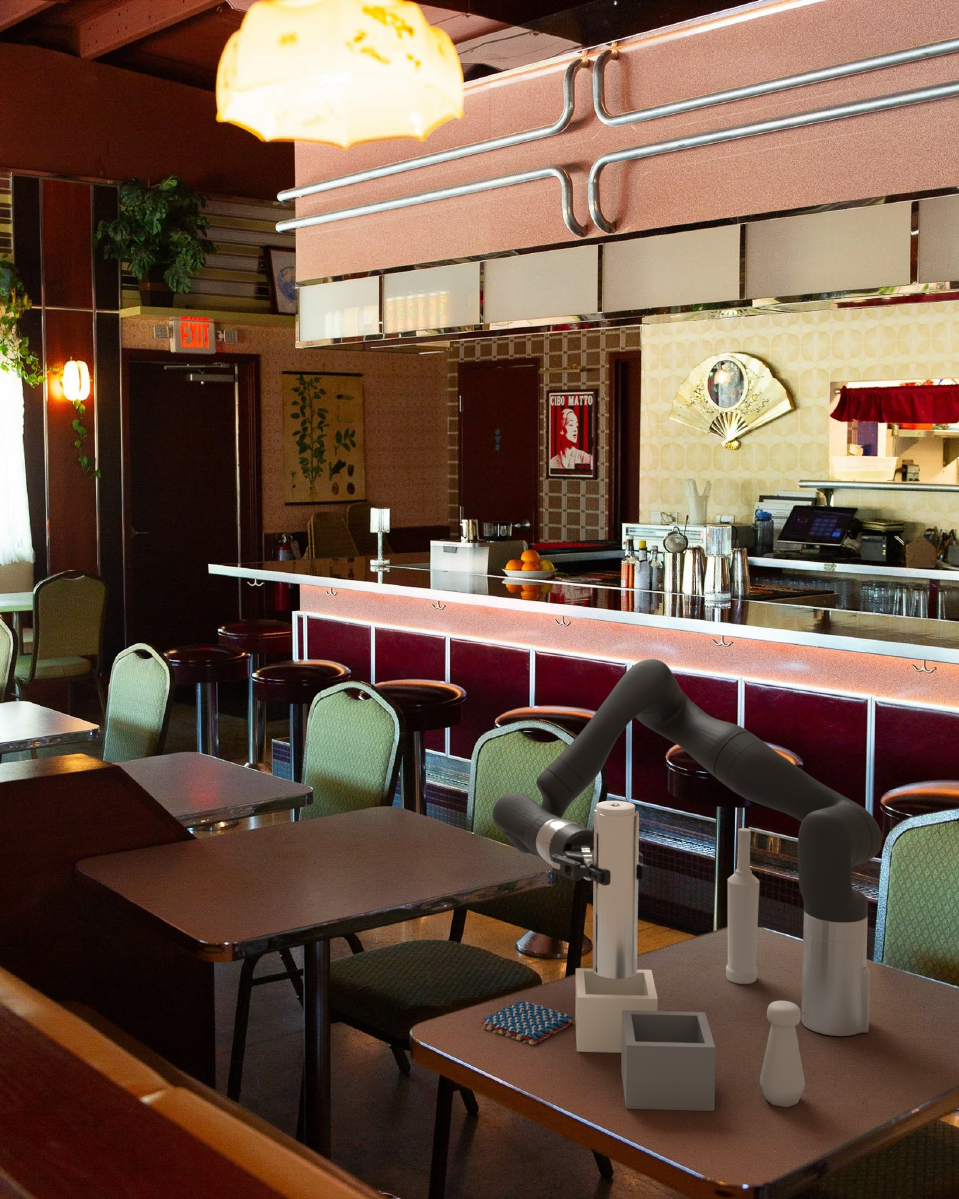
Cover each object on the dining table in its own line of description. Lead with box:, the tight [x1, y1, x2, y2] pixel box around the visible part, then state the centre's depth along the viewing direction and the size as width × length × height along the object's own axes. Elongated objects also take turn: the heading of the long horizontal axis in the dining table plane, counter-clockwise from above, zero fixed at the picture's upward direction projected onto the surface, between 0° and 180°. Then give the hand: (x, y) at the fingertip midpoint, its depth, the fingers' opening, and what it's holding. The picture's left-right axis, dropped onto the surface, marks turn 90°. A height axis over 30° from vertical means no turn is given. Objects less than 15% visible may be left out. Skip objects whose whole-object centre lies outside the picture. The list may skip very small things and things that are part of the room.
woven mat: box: [481, 1000, 574, 1046], centre depth 195 cm, size 10×11×2 cm
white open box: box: [574, 967, 659, 1054], centre depth 191 cm, size 11×11×8 cm
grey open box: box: [620, 1010, 716, 1112], centre depth 174 cm, size 11×11×8 cm
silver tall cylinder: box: [592, 800, 640, 979], centre depth 190 cm, size 6×6×25 cm
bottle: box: [725, 827, 760, 985], centre depth 213 cm, size 5×5×25 cm
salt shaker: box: [759, 1000, 806, 1108], centre depth 171 cm, size 6×6×13 cm
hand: (625, 875), depth 187 cm, fingers closed on silver tall cylinder, 5 cm apart
